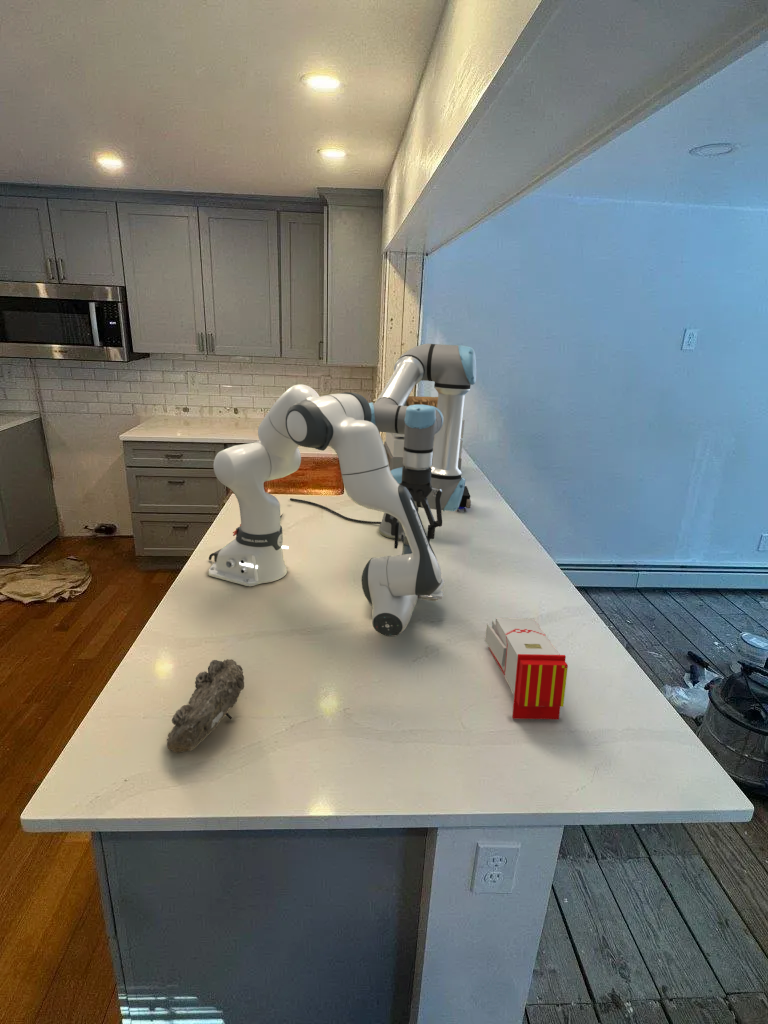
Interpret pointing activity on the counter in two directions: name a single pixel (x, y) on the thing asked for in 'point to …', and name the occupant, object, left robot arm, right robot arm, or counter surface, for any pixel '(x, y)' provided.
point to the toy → (529, 667)
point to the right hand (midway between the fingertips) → (411, 547)
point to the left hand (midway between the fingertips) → (410, 571)
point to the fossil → (206, 705)
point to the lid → (404, 538)
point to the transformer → (396, 441)
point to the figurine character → (465, 500)
